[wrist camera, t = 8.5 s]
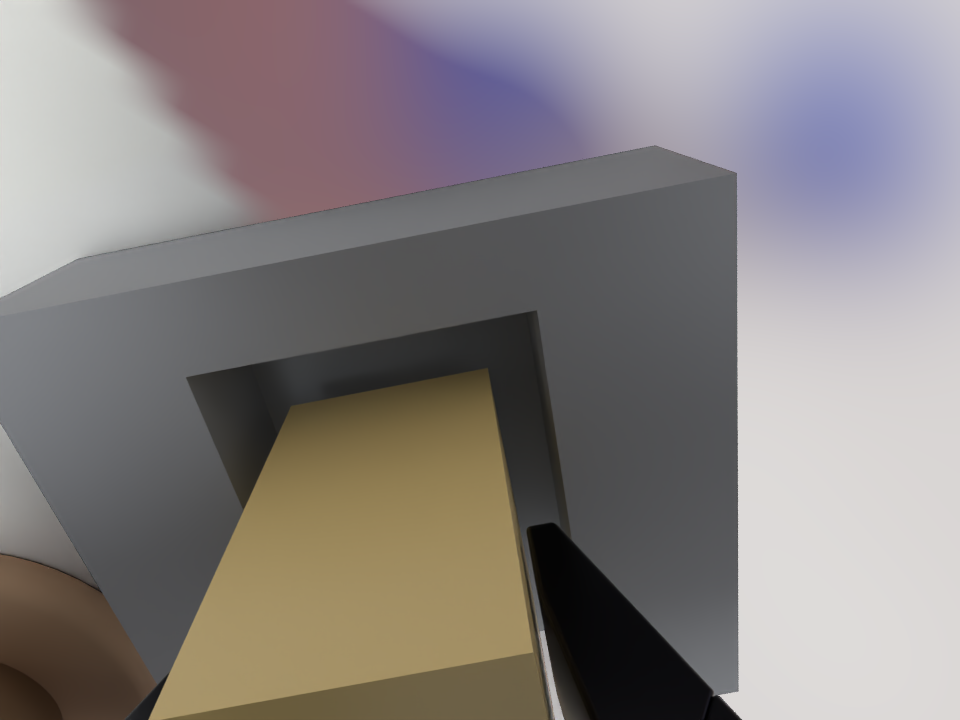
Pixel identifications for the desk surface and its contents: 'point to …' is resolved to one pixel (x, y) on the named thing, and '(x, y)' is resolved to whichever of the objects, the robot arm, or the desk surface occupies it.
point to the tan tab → (372, 573)
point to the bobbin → (63, 649)
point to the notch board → (406, 377)
